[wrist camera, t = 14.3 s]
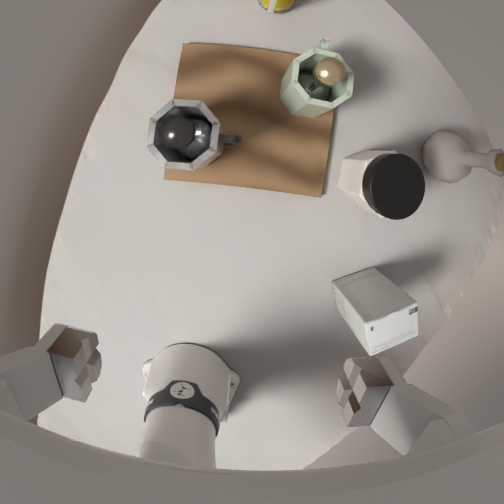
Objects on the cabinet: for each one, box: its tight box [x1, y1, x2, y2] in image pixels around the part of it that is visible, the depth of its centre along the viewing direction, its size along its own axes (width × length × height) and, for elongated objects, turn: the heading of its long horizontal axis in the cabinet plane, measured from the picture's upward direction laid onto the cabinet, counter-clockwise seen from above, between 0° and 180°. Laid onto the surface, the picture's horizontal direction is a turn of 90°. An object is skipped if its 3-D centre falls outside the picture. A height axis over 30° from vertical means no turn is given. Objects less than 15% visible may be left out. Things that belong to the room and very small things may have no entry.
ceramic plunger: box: [298, 57, 346, 101], centre depth 31 cm, size 5×5×10 cm
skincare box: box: [332, 267, 418, 356], centre depth 43 cm, size 8×6×15 cm
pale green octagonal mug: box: [279, 37, 354, 118], centre depth 34 cm, size 10×7×10 cm
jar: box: [337, 151, 425, 220], centre depth 38 cm, size 9×8×12 cm
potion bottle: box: [422, 131, 504, 184], centre depth 34 cm, size 9×9×18 cm
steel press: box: [147, 99, 242, 171], centre depth 34 cm, size 7×10×13 cm
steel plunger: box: [159, 115, 212, 157], centre depth 30 cm, size 5×5×11 cm
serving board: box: [164, 43, 334, 198], centre depth 40 cm, size 21×23×1 cm
